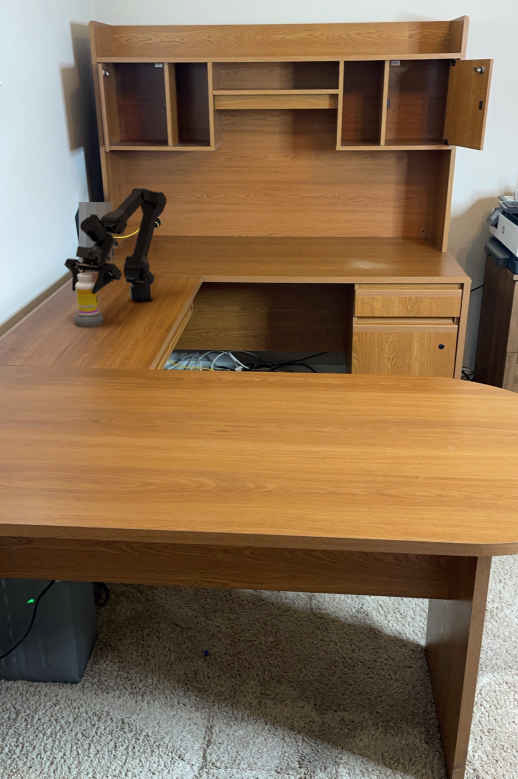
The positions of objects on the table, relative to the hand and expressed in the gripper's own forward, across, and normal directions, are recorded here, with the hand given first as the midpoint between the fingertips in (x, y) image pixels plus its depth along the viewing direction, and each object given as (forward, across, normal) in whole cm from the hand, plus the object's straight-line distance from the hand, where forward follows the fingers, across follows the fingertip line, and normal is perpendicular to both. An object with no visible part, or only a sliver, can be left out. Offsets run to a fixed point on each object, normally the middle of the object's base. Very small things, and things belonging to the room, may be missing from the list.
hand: (83, 292), depth 223 cm
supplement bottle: (+4, 0, +6) cm, 8 cm away
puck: (+7, 0, +8) cm, 11 cm away
